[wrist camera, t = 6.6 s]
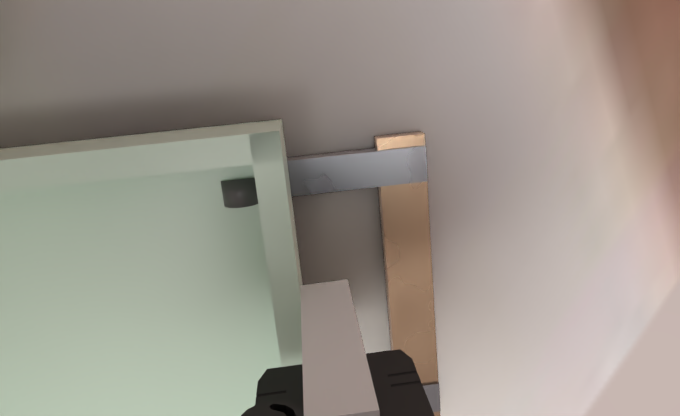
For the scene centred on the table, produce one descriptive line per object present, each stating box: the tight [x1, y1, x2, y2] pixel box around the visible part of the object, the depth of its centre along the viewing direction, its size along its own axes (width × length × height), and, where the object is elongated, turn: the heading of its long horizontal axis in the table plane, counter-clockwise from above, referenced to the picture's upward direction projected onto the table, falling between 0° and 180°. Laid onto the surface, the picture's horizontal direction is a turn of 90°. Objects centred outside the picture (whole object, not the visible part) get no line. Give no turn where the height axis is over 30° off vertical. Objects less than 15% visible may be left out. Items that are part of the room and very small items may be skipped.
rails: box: [287, 131, 440, 416], centre depth 19 cm, size 11×23×1 cm, turn 96°
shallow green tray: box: [0, 119, 303, 416], centre depth 17 cm, size 13×13×3 cm
